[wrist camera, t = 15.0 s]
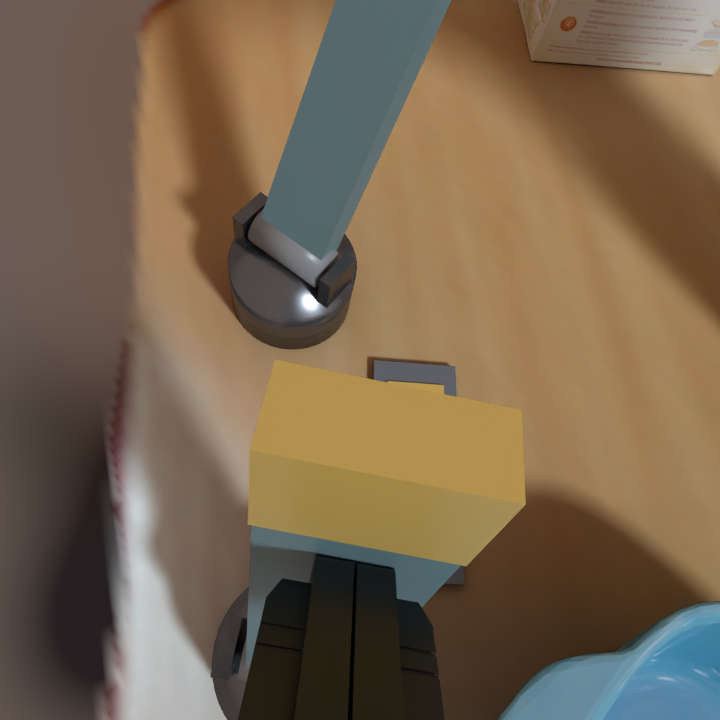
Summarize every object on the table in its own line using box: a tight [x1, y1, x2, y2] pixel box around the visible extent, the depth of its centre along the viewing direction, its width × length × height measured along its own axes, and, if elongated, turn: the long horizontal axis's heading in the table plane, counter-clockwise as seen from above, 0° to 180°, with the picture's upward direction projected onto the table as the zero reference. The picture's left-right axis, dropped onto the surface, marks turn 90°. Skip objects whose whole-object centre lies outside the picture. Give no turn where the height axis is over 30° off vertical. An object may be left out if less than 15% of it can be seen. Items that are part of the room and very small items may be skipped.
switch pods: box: [211, 192, 357, 720], centre depth 27 cm, size 24×6×6 cm, turn 3°
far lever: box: [248, 0, 452, 288], centre depth 24 cm, size 2×4×18 cm, turn 54°
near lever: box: [238, 360, 526, 681], centre depth 15 cm, size 2×4×18 cm, turn 81°
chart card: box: [373, 360, 465, 585], centre depth 29 cm, size 11×4×1 cm, turn 179°
